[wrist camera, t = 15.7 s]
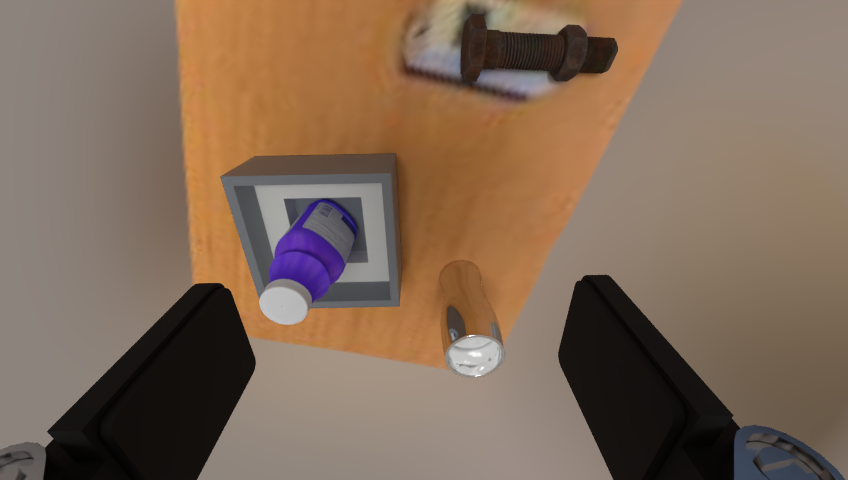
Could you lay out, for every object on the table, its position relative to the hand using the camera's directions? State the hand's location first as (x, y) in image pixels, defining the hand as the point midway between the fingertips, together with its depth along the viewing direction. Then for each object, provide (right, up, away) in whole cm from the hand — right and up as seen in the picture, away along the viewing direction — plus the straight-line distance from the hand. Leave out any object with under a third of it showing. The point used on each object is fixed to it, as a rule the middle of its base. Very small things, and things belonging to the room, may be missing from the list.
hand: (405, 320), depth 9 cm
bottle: (-12, +5, +34) cm, 36 cm away
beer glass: (+6, -3, +40) cm, 41 cm away
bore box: (-11, +5, +35) cm, 37 cm away
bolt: (+12, +22, +27) cm, 37 cm away
